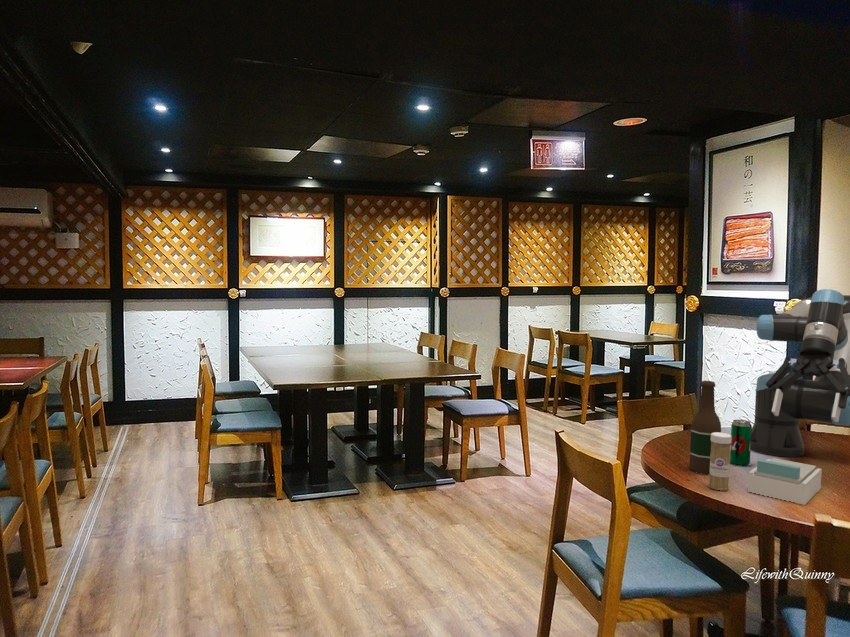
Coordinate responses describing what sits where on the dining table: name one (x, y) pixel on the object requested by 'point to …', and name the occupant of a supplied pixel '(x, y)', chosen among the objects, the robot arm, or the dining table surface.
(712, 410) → the beer bottle
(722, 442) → the sprinkles bottle
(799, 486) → the mailer box
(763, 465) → the lid
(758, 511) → the dining table surface
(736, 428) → the soda can
